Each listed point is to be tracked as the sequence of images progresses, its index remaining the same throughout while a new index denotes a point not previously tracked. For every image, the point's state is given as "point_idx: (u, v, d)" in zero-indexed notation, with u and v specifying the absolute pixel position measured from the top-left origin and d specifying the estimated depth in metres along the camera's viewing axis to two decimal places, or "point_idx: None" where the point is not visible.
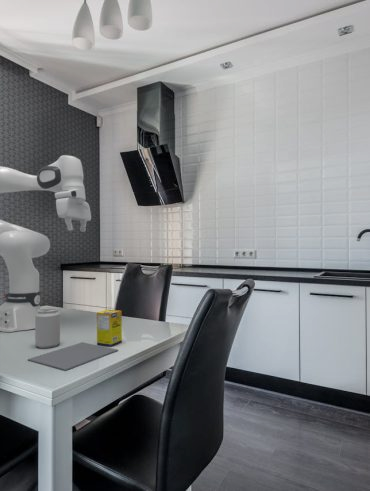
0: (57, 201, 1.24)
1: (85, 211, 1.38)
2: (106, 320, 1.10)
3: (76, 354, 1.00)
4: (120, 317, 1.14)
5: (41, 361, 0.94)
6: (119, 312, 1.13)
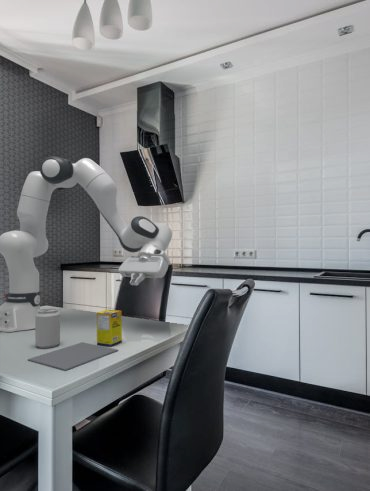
0: (163, 260, 1.24)
1: None
2: (106, 320, 1.10)
3: (76, 354, 1.00)
4: (120, 317, 1.13)
5: (41, 361, 0.94)
6: (119, 312, 1.13)
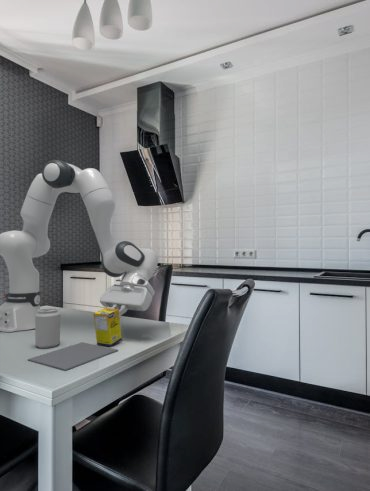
0: (147, 291, 1.16)
1: None
2: (104, 321, 1.09)
3: (76, 354, 1.00)
4: (118, 316, 1.12)
5: (41, 361, 0.94)
6: (116, 311, 1.12)
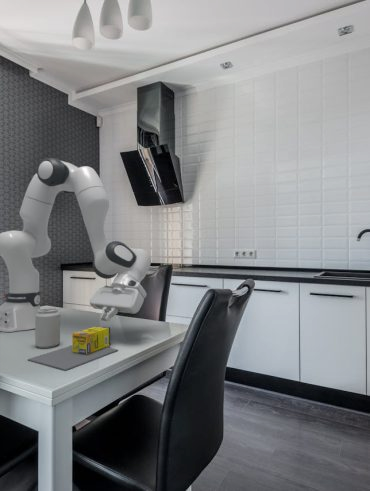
0: (138, 293, 1.11)
1: None
2: None
3: (76, 354, 1.00)
4: (91, 335, 1.01)
5: (41, 361, 0.94)
6: (87, 338, 1.00)
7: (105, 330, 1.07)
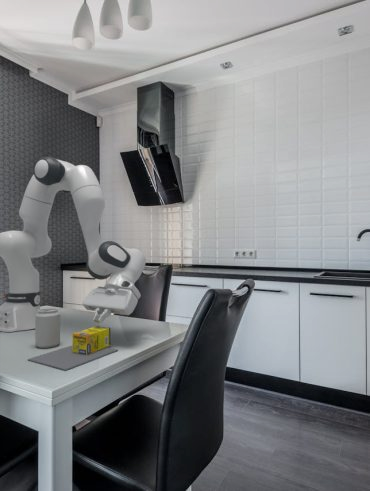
0: (132, 294, 1.09)
1: None
2: None
3: (76, 354, 1.00)
4: (92, 336, 1.01)
5: (41, 361, 0.94)
6: (87, 339, 1.00)
7: (105, 330, 1.07)
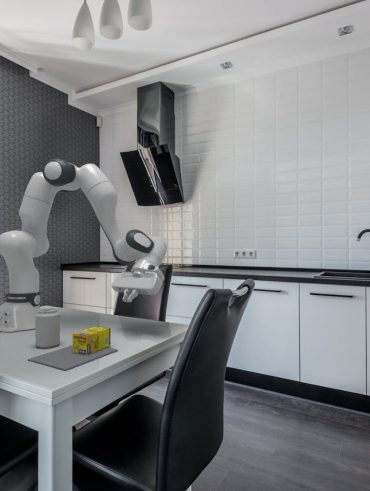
0: (157, 276, 1.21)
1: None
2: None
3: (76, 354, 1.00)
4: (92, 336, 1.01)
5: (41, 361, 0.94)
6: (87, 339, 1.00)
7: (105, 330, 1.07)
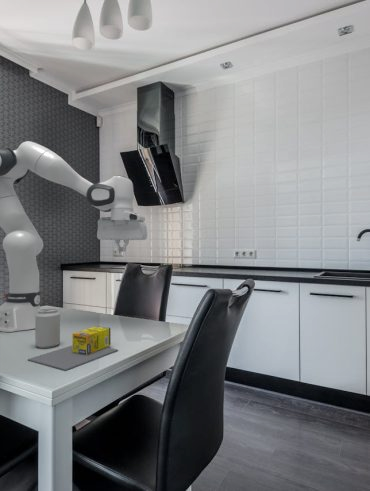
0: (143, 224, 1.31)
1: None
2: None
3: (76, 354, 1.00)
4: (92, 336, 1.01)
5: (41, 361, 0.94)
6: (87, 339, 1.00)
7: (105, 330, 1.07)
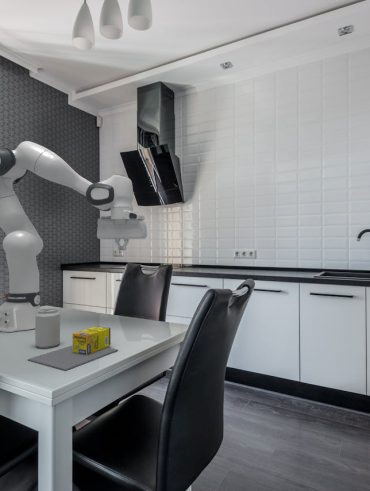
0: (142, 223, 1.31)
1: None
2: None
3: (76, 354, 1.00)
4: (92, 336, 1.01)
5: (41, 361, 0.94)
6: (87, 339, 1.00)
7: (105, 330, 1.07)
